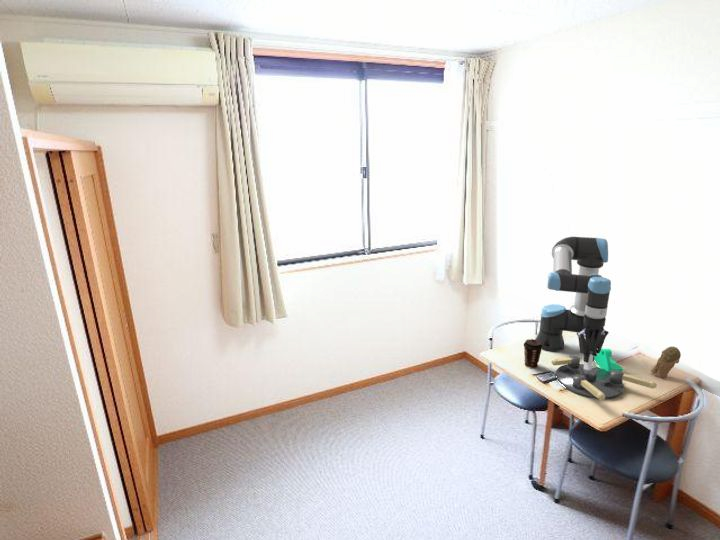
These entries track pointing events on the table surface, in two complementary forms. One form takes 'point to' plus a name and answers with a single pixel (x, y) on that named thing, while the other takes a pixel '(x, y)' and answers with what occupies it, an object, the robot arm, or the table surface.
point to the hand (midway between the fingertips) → (587, 368)
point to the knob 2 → (629, 379)
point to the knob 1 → (587, 386)
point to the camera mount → (607, 361)
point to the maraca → (568, 361)
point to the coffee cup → (532, 353)
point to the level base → (593, 376)
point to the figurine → (666, 361)
